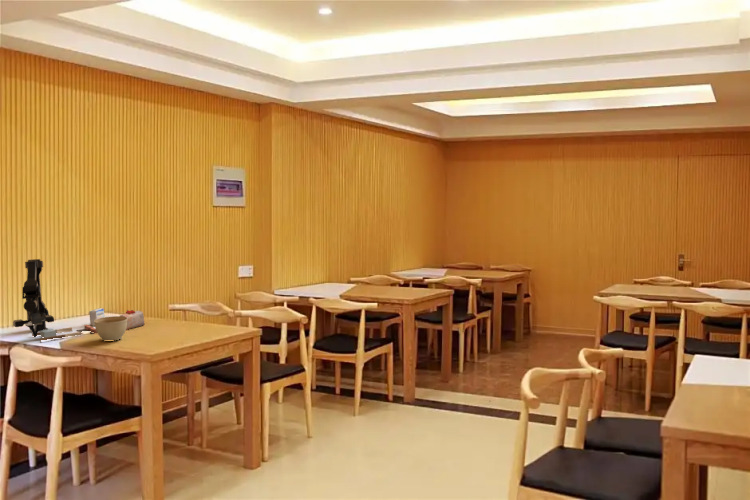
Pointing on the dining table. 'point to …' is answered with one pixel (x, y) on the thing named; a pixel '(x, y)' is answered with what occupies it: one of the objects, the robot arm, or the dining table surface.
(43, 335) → the block
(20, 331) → the dining table surface
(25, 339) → the dining table surface
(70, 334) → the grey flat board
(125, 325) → the planter bowl
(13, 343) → the dining table surface
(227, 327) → the dining table surface
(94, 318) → the medicine box
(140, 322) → the food item
